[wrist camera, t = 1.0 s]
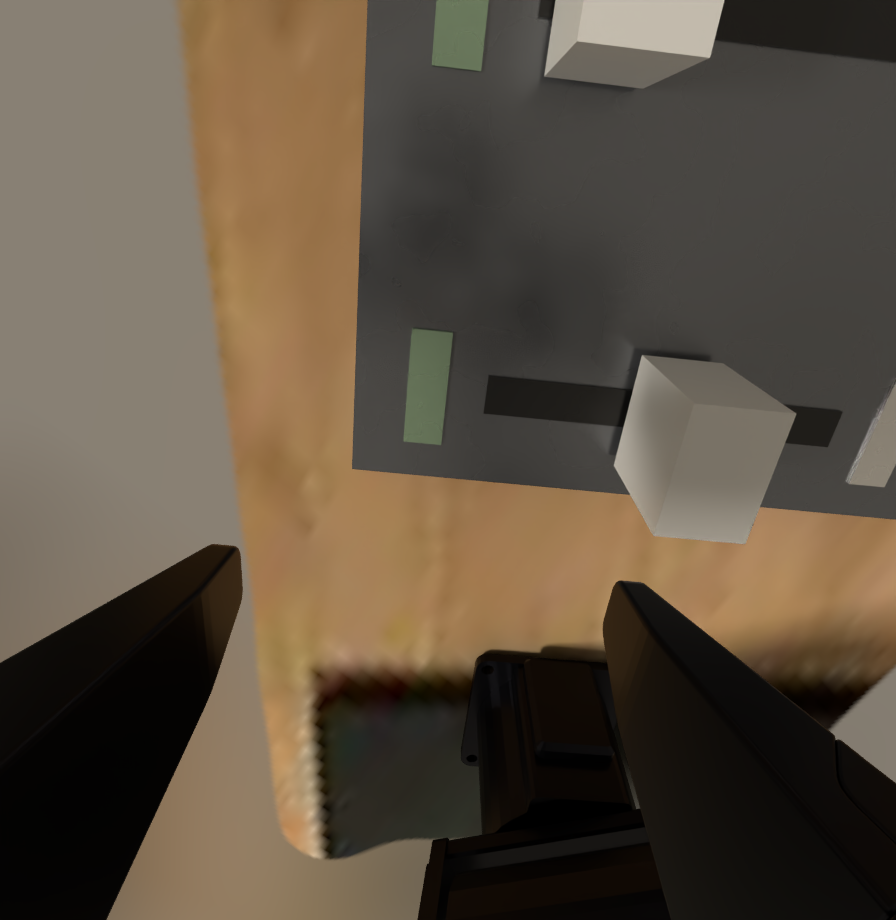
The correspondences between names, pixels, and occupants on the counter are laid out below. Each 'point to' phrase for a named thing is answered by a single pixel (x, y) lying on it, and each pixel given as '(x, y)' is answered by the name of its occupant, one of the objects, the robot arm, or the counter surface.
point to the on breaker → (630, 39)
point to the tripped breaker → (699, 448)
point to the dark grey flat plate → (626, 243)
